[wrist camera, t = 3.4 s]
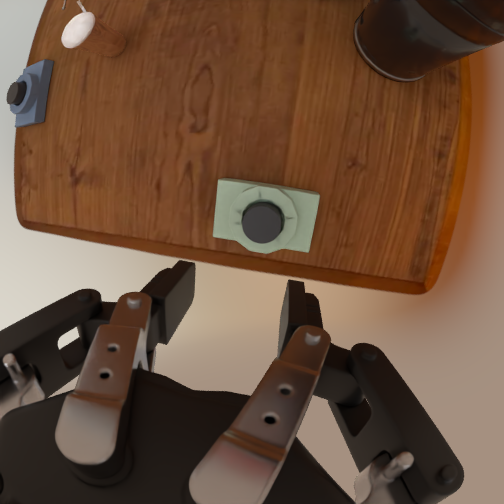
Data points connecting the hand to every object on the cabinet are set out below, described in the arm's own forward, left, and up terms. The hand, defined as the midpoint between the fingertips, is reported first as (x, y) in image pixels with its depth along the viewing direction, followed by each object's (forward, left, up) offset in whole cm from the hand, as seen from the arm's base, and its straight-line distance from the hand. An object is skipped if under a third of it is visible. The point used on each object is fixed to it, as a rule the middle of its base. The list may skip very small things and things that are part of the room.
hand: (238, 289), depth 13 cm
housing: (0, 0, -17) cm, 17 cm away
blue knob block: (+24, -32, -17) cm, 44 cm away
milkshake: (+8, -28, -18) cm, 34 cm away
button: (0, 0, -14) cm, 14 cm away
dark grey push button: (+24, -32, -14) cm, 42 cm away
